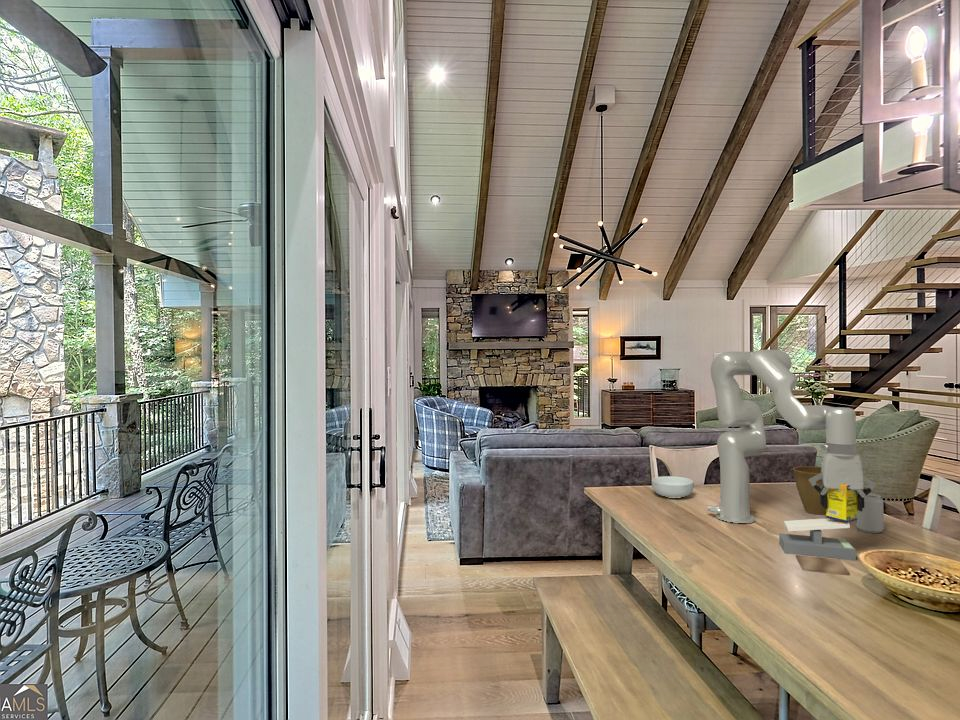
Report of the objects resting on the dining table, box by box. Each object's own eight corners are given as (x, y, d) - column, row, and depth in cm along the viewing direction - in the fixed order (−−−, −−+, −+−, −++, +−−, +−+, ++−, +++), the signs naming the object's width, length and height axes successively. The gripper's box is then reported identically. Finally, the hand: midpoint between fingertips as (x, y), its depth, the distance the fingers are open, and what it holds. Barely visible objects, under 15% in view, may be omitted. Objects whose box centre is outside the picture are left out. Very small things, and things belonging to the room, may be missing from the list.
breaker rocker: (788, 531, 167) (787, 526, 167) (784, 524, 174) (783, 520, 174) (850, 527, 162) (849, 522, 162) (843, 521, 168) (842, 516, 168)
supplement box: (846, 523, 162) (846, 485, 162) (825, 518, 167) (825, 481, 167) (858, 520, 164) (858, 483, 164) (837, 515, 170) (837, 479, 170)
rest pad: (802, 570, 153) (802, 567, 153) (795, 556, 163) (795, 554, 163) (849, 575, 149) (849, 573, 149) (839, 561, 159) (839, 559, 159)
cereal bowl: (647, 492, 245) (647, 475, 245) (685, 492, 244) (685, 475, 244) (658, 501, 228) (658, 484, 228) (699, 502, 227) (699, 484, 227)
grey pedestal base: (784, 553, 166) (784, 530, 166) (779, 542, 176) (779, 521, 176) (855, 560, 160) (855, 536, 160) (846, 549, 169) (846, 526, 169)
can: (888, 534, 183) (888, 497, 183) (862, 533, 185) (862, 496, 185) (877, 528, 191) (876, 492, 191) (852, 526, 192) (852, 491, 192)
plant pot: (813, 505, 220) (813, 464, 220) (849, 515, 206) (849, 471, 206) (784, 509, 215) (783, 467, 215) (818, 519, 201) (818, 474, 201)
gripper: (809, 450, 165) (810, 509, 165) (880, 452, 159) (881, 514, 159) (804, 446, 172) (805, 504, 172) (871, 449, 166) (873, 508, 166)
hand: (842, 508), depth 165 cm, fingers closed on supplement box, 8 cm apart
